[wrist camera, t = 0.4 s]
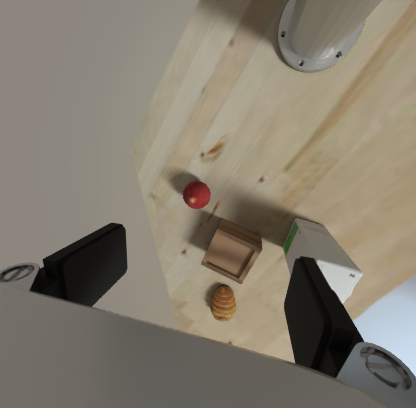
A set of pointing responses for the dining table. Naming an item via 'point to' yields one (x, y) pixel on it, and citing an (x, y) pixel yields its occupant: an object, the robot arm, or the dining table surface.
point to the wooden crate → (232, 251)
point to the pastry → (223, 304)
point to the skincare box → (322, 255)
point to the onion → (196, 195)
